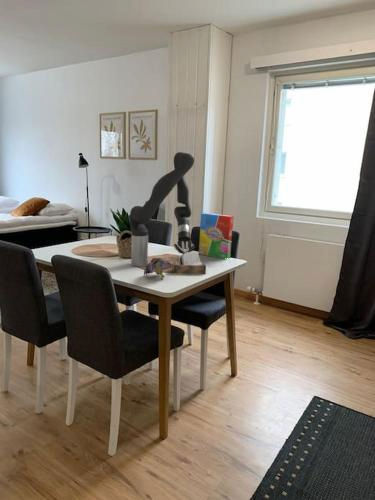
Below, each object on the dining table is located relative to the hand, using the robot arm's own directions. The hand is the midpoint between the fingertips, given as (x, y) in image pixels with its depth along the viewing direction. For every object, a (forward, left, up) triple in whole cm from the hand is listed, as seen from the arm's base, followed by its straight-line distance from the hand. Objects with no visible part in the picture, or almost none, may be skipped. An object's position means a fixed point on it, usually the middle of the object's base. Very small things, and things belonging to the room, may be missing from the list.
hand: (185, 258), depth 212 cm
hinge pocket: (+1, -12, -4) cm, 13 cm away
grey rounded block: (+2, -4, -4) cm, 6 cm away
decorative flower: (-17, -23, -5) cm, 29 cm away
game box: (+22, +26, -4) cm, 34 cm away
